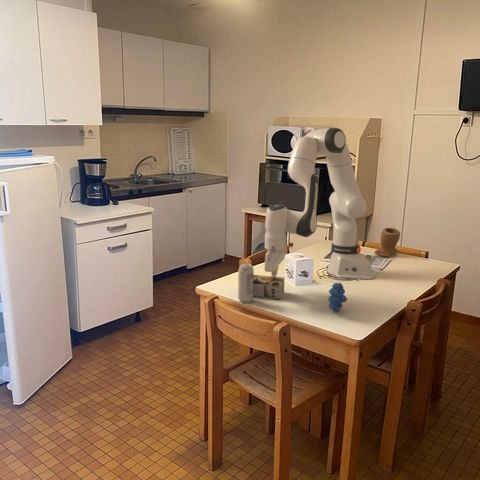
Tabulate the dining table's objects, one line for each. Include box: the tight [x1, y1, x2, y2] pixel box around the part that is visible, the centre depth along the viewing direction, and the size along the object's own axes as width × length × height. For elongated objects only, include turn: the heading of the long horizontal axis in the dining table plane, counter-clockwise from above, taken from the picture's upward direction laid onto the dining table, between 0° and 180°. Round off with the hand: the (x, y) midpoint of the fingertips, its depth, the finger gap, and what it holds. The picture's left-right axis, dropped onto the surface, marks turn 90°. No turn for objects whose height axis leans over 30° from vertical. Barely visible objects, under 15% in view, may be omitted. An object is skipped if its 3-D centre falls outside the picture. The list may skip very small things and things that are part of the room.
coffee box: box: [253, 274, 286, 299], centre depth 202 cm, size 9×6×16 cm
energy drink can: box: [237, 263, 255, 304], centre depth 194 cm, size 6×6×15 cm
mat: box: [253, 296, 279, 301], centre depth 204 cm, size 16×12×1 cm
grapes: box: [327, 282, 348, 313], centre depth 184 cm, size 12×7×12 cm, turn 144°
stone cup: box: [374, 227, 401, 258], centre depth 261 cm, size 15×12×15 cm
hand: (274, 275), depth 201 cm, fingers closed
